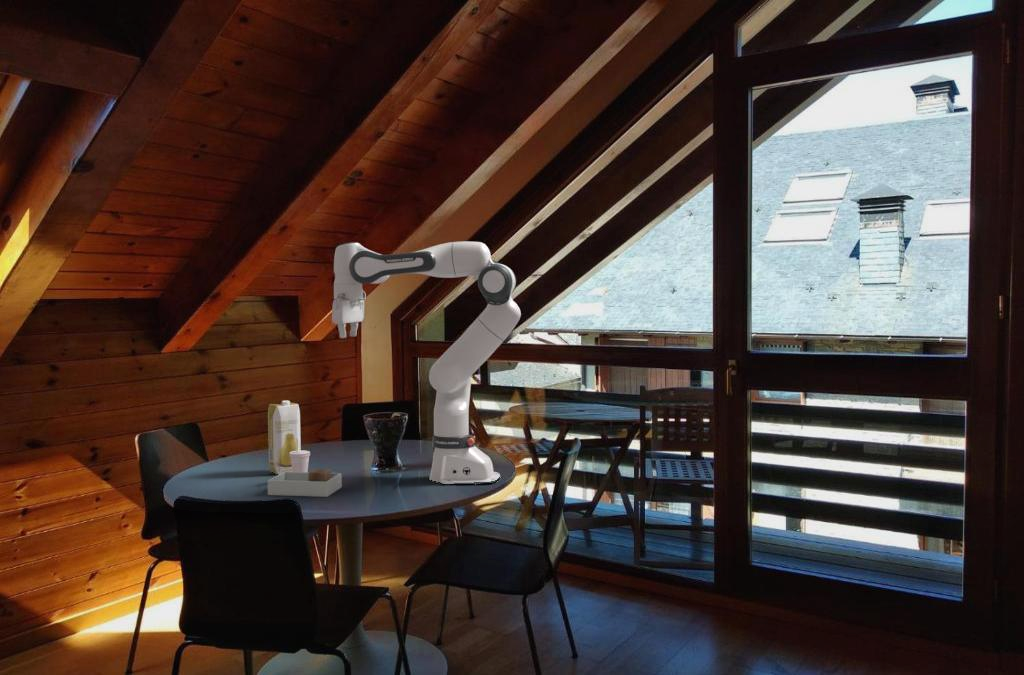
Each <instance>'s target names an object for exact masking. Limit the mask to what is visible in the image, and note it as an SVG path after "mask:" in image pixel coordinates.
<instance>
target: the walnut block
mask: <svg viewBox="0 0 1024 675" xmlns="http://www.w3.org/2000/svg"><path fill="white" fill-rule="evenodd" d="M308 472H309V473H308V481H322V482H326V481H328V480H329V479H331V473H332V469H324V468H323V469H322V468H320V469H319V468H315V469H311V471H308Z"/></svg>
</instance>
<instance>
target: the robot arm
mask: <svg viewBox="0 0 1024 675" xmlns="http://www.w3.org/2000/svg"><path fill="white" fill-rule="evenodd" d="M333 273H334V280H333V281H334V282H333V299H334V300H333V302H332V310H331V322H332V324H336V325H337V328H338V333H339V338H340V339H345V338H346V339H347V331H346V327H347V324H349V325H350V331H349V336H350V337H357V330H358V328H359V323H360V322H363V320H364V318H365V300H366V299H367V298H366V297H367V296H366V295H367V294H366V292H365V291H364V290H363V285H369V284H382V283H384V282H386V281H387V280H389V278H390V277H391V276H397V275H405V274H406V275H407V274H408V275H409V274H416V275H417V274H418V275H419V274H420V275H425V276H429V277H435V278H445V279H446V278H447V279H448V278H449V279H450V278H451V279H453V278H462V277H463V278H464V277H474V278H476V279H477V286H478V289H479V291H480V292H481V294H482V296H483V297H484V299H485V301H486V302H487V305H486V307H485V308H484V309H483V311H482V312H481V313H480V314H479V315H478V317H476V318H475V320H474V321H473V322H472V323H471V324H470V325H469V326H468V328H466V330H465V331H464V332H463V333H462V335H460V337H458V339H456V340H455V341H454V342H453V344H452V345H451V346H449V347H448V348H447V350H445V352H443V354H442V355H440V357H438V359H436V361H435V362H434V363H433V364H432V366H431V367H430V370H429V371H428V372H429V373H428V381H429V384H430V386H431V387H432V388H433V389H434V390H435V391H436V394H435V404H434V408H433V434H432V438H431V443H432V444H431V446H432V448H431V449H432V452H433V453H432V454H433V456H432V464H431V468H430V475H429V480H430V481H431V480H432V481H431V482H434V481H436V482H435V483H438V482H440V483H442V484H454V483H474V482H491V481H495V480H497V479H498V478H499V477H500V478H501V474H500V472H497V471H494V465H493V461H492V459H491V458H490V456H489V455H487V454H486V453H485V452H483V451H482V450H480V449H479V447H477V446H475V445H476V436H475V435H472V434H470V430H469V429H470V428H469V427H470V426H469V423H470V421H469V417H470V416H469V414H470V413H469V410H470V409H469V408H470V407H469V406H470V401H471V400H470V397H471V386H472V375H473V374H475V373H476V371H477V370H478V369H480V367H481V366H482V365H484V363H485V362H486V361H487V360H488V359H489V358H490V357H491V356H492V354H494V353H495V351H496V350H497V349H498V348H499V347H500V346H501V345H502V344H503V342H504V341H505V340H506V339H507V338H508V337H509V335H510V334H511V333H512V331H513V330H514V329H515V327H516V326H517V324H518V323H519V321H520V319H521V316H522V313H521V309H520V307H519V306H518V304H517V302H515V301H514V299H513V296H512V295H513V293H514V291H515V290H516V287H517V277H516V274H515V272H514V271H513V270H512V269H511V268H510V267H508V266H507V265H505V264H502V263H501V262H497V261H495V260H493V259H492V255H491V251H490V249H489V247H488V246H487V245H486V243H483V242H481V241H464V240H463V241H453V242H452V241H451V242H446V243H440V244H436V245H434V246H429V247H427V248H423V249H420V250H417V251H412V252H403V253H394V254H393V253H392V254H381V253H378V252H375V251H373V250H370V249H368V248H366V247H364V246H363V245H362V244H361V243H359V242H357V241H356V242H355V241H353V242H345V243H341V244H339V245H338V246H336V248H335V252H334V259H333ZM440 483H439V484H440ZM442 484H441V485H442Z"/></svg>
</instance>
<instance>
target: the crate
mask: <svg viewBox="0 0 1024 675" xmlns="http://www.w3.org/2000/svg"><path fill="white" fill-rule="evenodd" d="M309 472H310V471H307V472H283V473H281V474H279V475H277V474H276V475H275V476H273V477H272V478H270V479H267V495H268V496H294V497H322V498H324V497H326V498H328V497H330V496H331V495H332V494H334V493H336V492H337V491H338V490H340V489H342V486H343V485H342V484H343V483H342V481H343V480H342V478H343V476H342V472H331V479H329V480H328V481H326V482H322V481H308V473H309Z"/></svg>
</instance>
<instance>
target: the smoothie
mask: <svg viewBox="0 0 1024 675" xmlns="http://www.w3.org/2000/svg"><path fill="white" fill-rule="evenodd" d="M289 456H290V458H291V465H292V472H309V470H308V469H309V463H310V462H309V461H310V456H311V451H310V450H305V449H302V450H299V439H298V438H297V451H292V452H290V453H289Z"/></svg>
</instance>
